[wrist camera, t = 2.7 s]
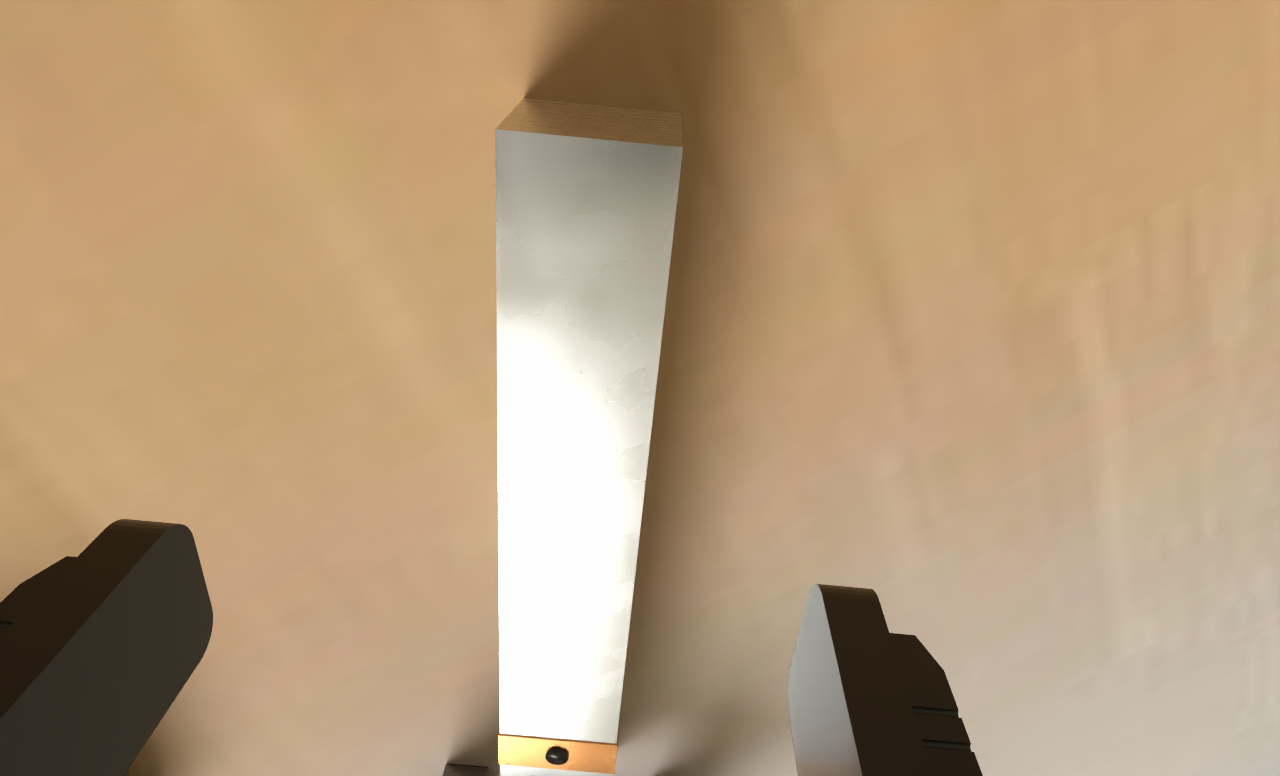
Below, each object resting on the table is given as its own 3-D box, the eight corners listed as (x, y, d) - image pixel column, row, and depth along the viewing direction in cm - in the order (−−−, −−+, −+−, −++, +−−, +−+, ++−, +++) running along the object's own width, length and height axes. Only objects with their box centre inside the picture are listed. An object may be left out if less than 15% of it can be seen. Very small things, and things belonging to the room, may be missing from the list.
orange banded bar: (524, 95, 20) (491, 130, 16) (683, 110, 20) (685, 149, 16) (517, 737, 33) (498, 835, 29) (613, 745, 33) (606, 844, 30)
